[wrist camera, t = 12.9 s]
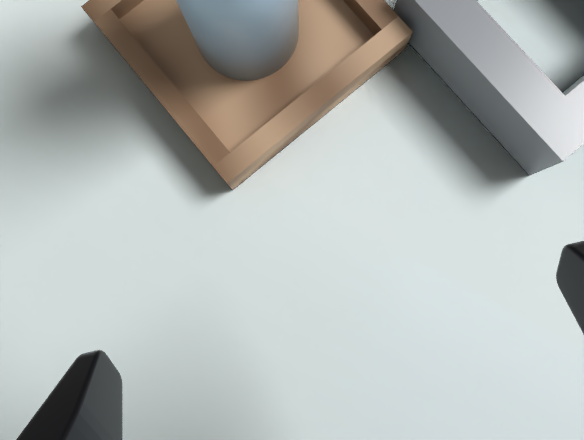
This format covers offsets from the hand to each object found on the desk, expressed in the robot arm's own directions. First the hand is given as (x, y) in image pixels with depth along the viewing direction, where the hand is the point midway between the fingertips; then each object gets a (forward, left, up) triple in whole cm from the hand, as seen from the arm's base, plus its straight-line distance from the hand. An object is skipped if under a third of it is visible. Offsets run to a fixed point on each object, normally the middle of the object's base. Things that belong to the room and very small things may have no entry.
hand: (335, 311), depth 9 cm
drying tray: (+5, +12, -13) cm, 19 cm away
